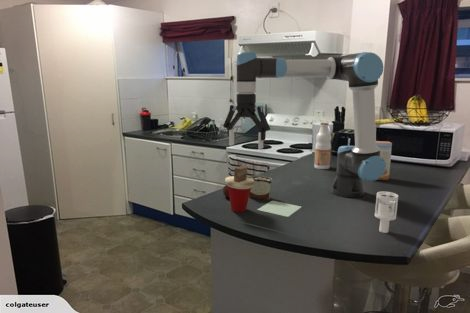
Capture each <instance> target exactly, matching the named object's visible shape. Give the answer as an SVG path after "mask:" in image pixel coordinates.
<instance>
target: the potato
mask: <svg viewBox="0 0 470 313" xmlns="http://www.w3.org/2000/svg"><path fill="white" fill-rule="evenodd" d="M222 193H223V196H225V198H229V199H230V197H229V191H228V186H227V184H226V185H224V186H223V188H222Z"/></svg>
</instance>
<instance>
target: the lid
mask: <svg viewBox="0 0 470 313" xmlns="http://www.w3.org/2000/svg"><path fill="white" fill-rule="evenodd" d="M248 168H249V167H248V166H245V165H240V166H236V167H234V175H230V176H227V177H225V179H224V180H225V181H224V183H225V184H226V185H227V184H228V185H230V186H233V187H239V188H249V187H253V186H254V185H255V181H254V180H253V179H251V178H248V177H249V176H248Z"/></svg>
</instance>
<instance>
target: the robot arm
mask: <svg viewBox="0 0 470 313" xmlns="http://www.w3.org/2000/svg"><path fill="white" fill-rule="evenodd" d="M235 66H236V93H237V94H236V104H231V105H229V110H228V113H227V115H226V118H225V121H224V123H223V128H225V129H227V137H228V146H230V147H231V146H234V145H235V128H234V127H235V125H236V124H237V123H238V122H239V120H240V119H241V118H250V119H251V120H252V121H253V123H254V124H255V126H256V127H257V128H258V130H259V132H258V136H257V137H258V141H257V142H258V145H257V146H258V148H257V149H258V150H262V149H264V141H265V140H266V133H267V132H268V131H270V130H271V127H270V125H269V122H268V120H267V118H266V115H265V112H264V107H263V105H262V106H261V105H260V106H257V105H256V102H257V97H256V96H257V95H256V92H257V90H256V89H257V79H264V78H265V79H268V78H270V79H273V78H274V79H275V78H276V79H279V78H326V79H327V80H336V81H337V80H338V81H344V82H348V83H347V84H348V89H350V90H351V91H352V104H353V108H352V109H353V126H354V145H341V146H339V147H338V149H337V156H336V157H337V159H336V174H335V175H336V176H335V178H334V181H333V183H332V185H331V190H330V191H331V193H333V195H336V196H341V197H343V198H344V197H345V198H359V197H363V196H364V195H365V188H364V183H363V181H366V182H375V181H377V179H379V178H380V177H381V176H382V175H383V174H384V172H385V169H386V163H385V160H384V159H383V158H382V157H380V148H379V147H378V146H376V141H377V134H376V133H377V130H376V128H377V126H376V101H375V100H376V99H375V97H376V95H375V89H376V88H377V87H378V85H379V79H380V78H381V76H382V75H383V73H384V63H383V60H382V59H381V57H380V56H379V55H378V54H376V53H374V52H371V51H370V52H367V51H363V52H356V53H350V54H345V55H340V56H330V57H328V58H327V59H324V58H323V59H285V58H283V57H281V58H280V57H258V56H257V52H254V51H241V52H238V53H237V54H236V65H235ZM236 111H237V112H236ZM235 112H236V114H235ZM256 112H257V114H256ZM234 115H235V116H234Z"/></svg>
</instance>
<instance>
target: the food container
mask: <svg viewBox="0 0 470 313" xmlns="http://www.w3.org/2000/svg"><path fill="white" fill-rule="evenodd" d="M247 177H248V178H251V179H253V180H254V181H255V185H254V186H253V187H252V188H251V190H250V193H249V198H251V199H260V200H267V201H269V200H270V199H271V198H270V197H271V191H272V185H274V181H273V178H272V177H270V176H267V175H259V174H257V175H255V174H254V175H249V176H247ZM249 198H248V199H249Z"/></svg>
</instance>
